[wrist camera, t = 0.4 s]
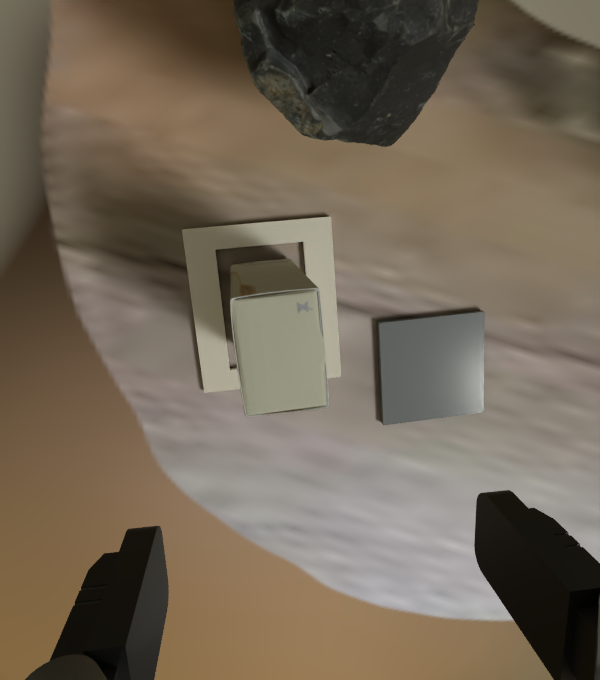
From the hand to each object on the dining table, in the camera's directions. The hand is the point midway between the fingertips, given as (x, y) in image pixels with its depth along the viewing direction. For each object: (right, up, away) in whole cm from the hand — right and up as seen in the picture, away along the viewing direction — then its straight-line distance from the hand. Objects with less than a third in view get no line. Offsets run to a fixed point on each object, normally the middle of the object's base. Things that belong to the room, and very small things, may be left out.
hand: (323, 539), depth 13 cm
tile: (+9, +3, +26) cm, 27 cm away
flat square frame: (-3, +7, +23) cm, 24 cm away
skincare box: (-3, +7, +23) cm, 24 cm away
